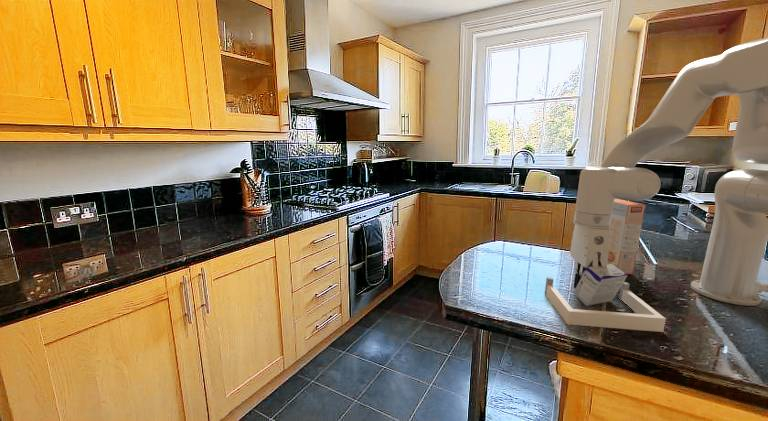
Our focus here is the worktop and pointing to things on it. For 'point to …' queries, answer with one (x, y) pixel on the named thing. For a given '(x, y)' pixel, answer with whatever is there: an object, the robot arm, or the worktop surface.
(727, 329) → the worktop surface
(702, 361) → the worktop surface
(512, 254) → the worktop surface
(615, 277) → the box
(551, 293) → the dock
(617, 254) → the cracker box
